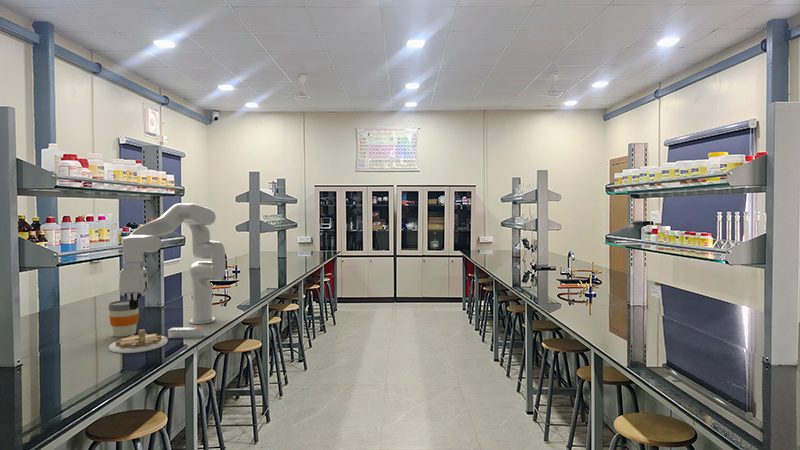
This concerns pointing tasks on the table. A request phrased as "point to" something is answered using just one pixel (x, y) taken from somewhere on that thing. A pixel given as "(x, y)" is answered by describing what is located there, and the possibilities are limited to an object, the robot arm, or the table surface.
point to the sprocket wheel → (138, 340)
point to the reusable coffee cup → (123, 318)
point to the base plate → (138, 349)
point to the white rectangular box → (185, 332)
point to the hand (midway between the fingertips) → (133, 309)
